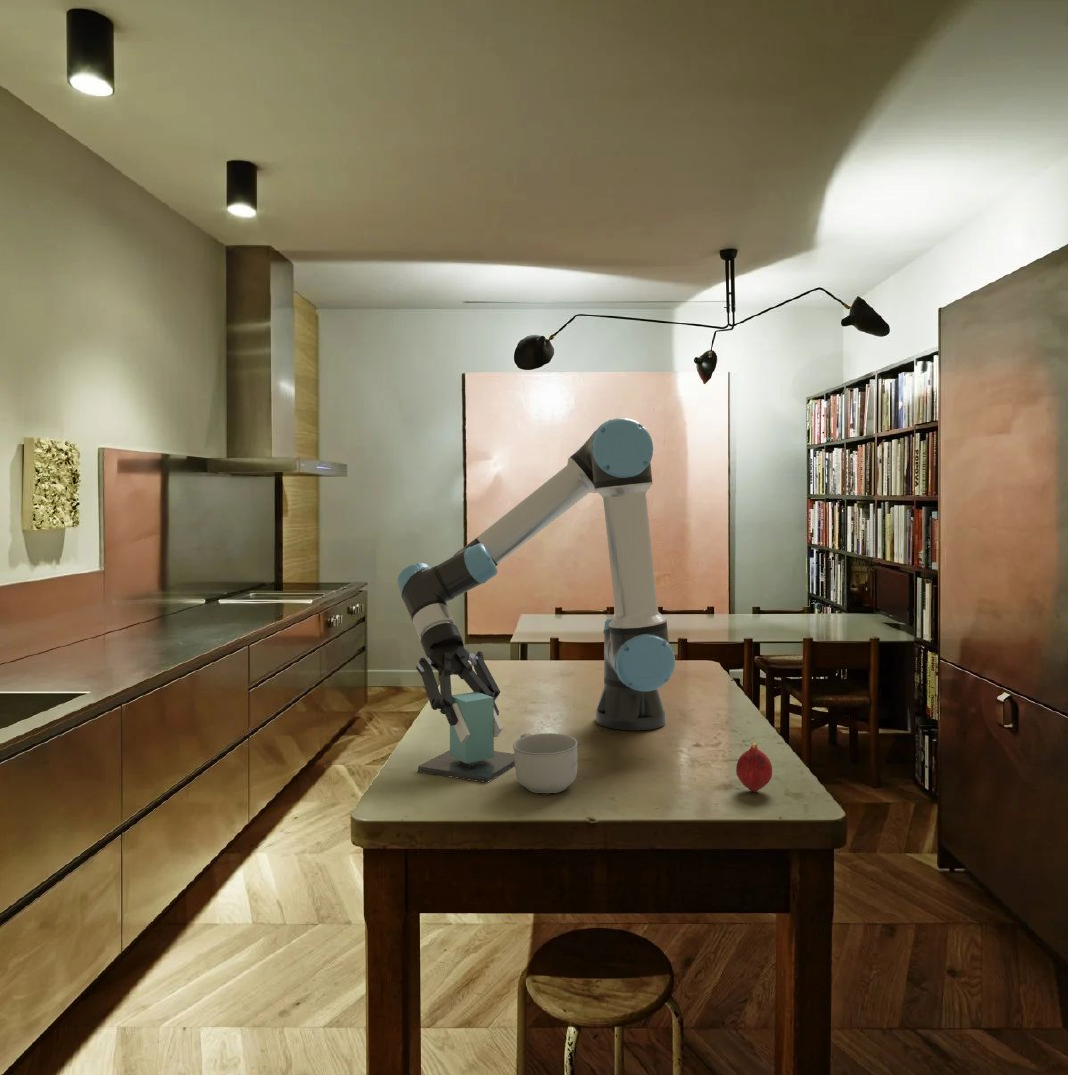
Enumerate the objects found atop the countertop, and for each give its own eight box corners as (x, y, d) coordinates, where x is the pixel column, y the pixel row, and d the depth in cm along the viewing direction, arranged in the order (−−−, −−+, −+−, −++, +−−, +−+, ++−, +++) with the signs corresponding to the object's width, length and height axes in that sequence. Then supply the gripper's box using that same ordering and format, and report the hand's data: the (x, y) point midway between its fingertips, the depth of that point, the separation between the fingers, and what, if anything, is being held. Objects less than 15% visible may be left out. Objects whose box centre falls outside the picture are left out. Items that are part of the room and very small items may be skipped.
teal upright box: (477, 750, 157) (476, 691, 156) (493, 757, 152) (493, 697, 152) (450, 755, 154) (449, 695, 153) (465, 763, 149) (465, 701, 148)
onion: (777, 797, 136) (778, 748, 136) (742, 798, 136) (743, 749, 136) (764, 785, 142) (765, 738, 142) (731, 786, 142) (731, 739, 141)
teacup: (586, 795, 137) (587, 747, 137) (522, 802, 134) (522, 752, 134) (560, 770, 151) (560, 725, 150) (501, 775, 148) (501, 730, 147)
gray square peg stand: (523, 760, 156) (523, 712, 156) (487, 782, 144) (487, 730, 143) (458, 751, 162) (458, 704, 162) (418, 771, 149) (417, 721, 149)
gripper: (473, 640, 170) (518, 738, 157) (386, 649, 159) (427, 755, 146) (487, 617, 166) (534, 716, 153) (398, 624, 155) (441, 732, 142)
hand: (482, 735), depth 150 cm, fingers open, 6 cm apart
